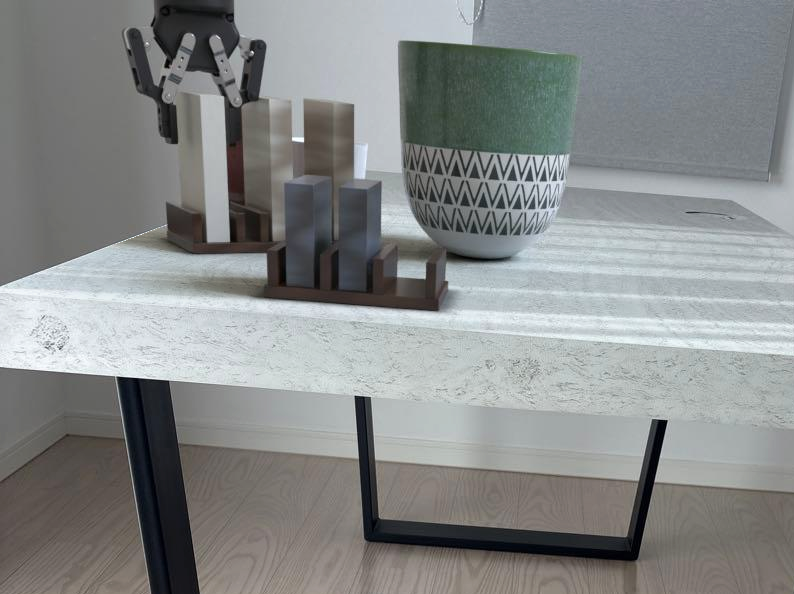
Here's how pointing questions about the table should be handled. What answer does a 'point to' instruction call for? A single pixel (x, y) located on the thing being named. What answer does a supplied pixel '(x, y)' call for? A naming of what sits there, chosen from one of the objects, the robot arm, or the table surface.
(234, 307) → the table surface
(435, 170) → the planter
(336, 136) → the brown book rack
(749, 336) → the table surface
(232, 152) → the dark red upright block
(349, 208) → the desk organizer with blocks
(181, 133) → the white book
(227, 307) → the table surface
